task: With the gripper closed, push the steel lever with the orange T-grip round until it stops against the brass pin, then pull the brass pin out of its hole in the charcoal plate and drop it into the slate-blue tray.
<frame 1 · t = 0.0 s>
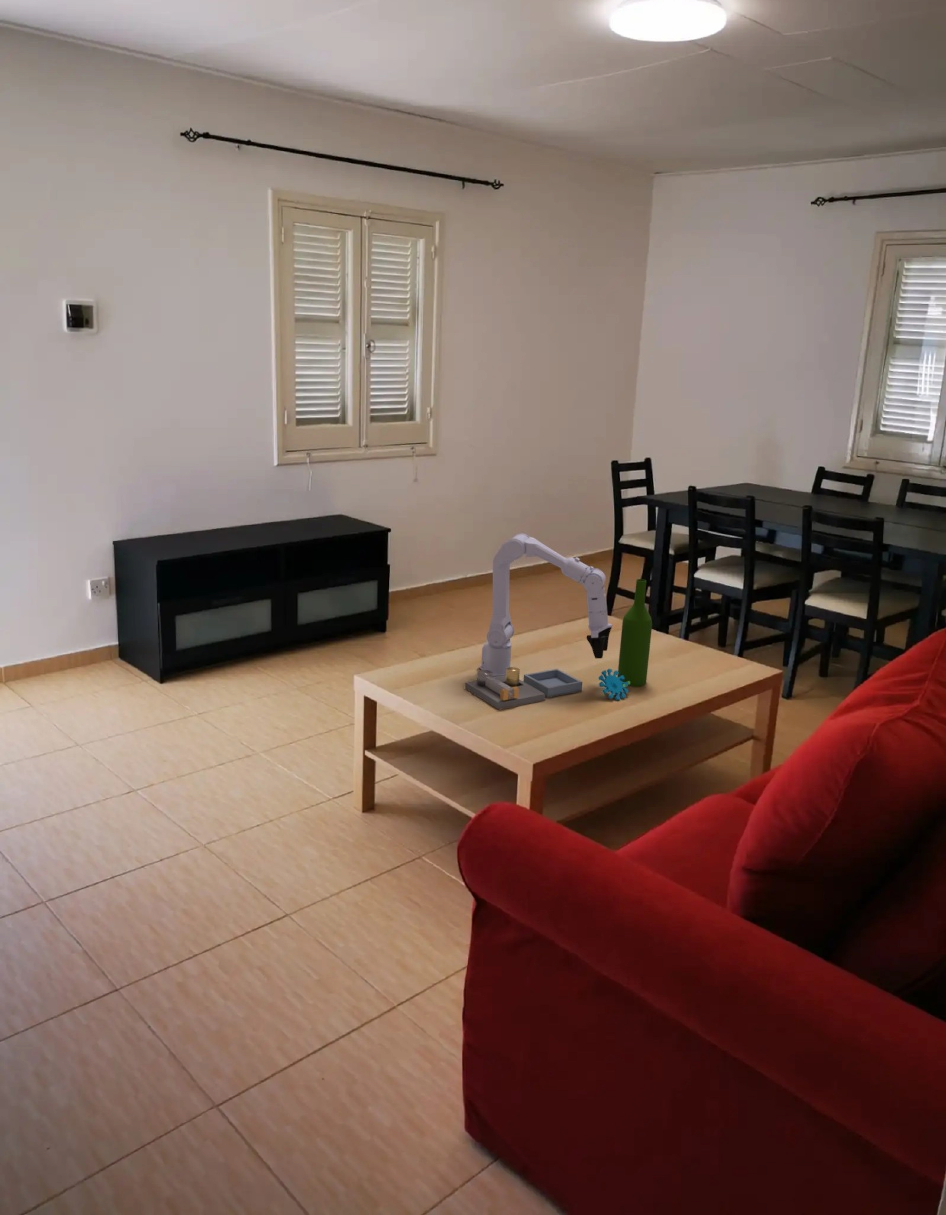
hand: (601, 654, 283), 11 cm above the table, tool pointing down, fingers open, 7 cm apart
blue spiky round piece: (613, 696, 280), on the table
crank plate: (504, 694, 277), on the table
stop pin: (511, 690, 281), resting in crank plate
lever: (495, 684, 273), point 4 cm above the table, hinge at 0.0°
wine bottle: (631, 682, 292), on the table
tray: (552, 687, 284), on the table
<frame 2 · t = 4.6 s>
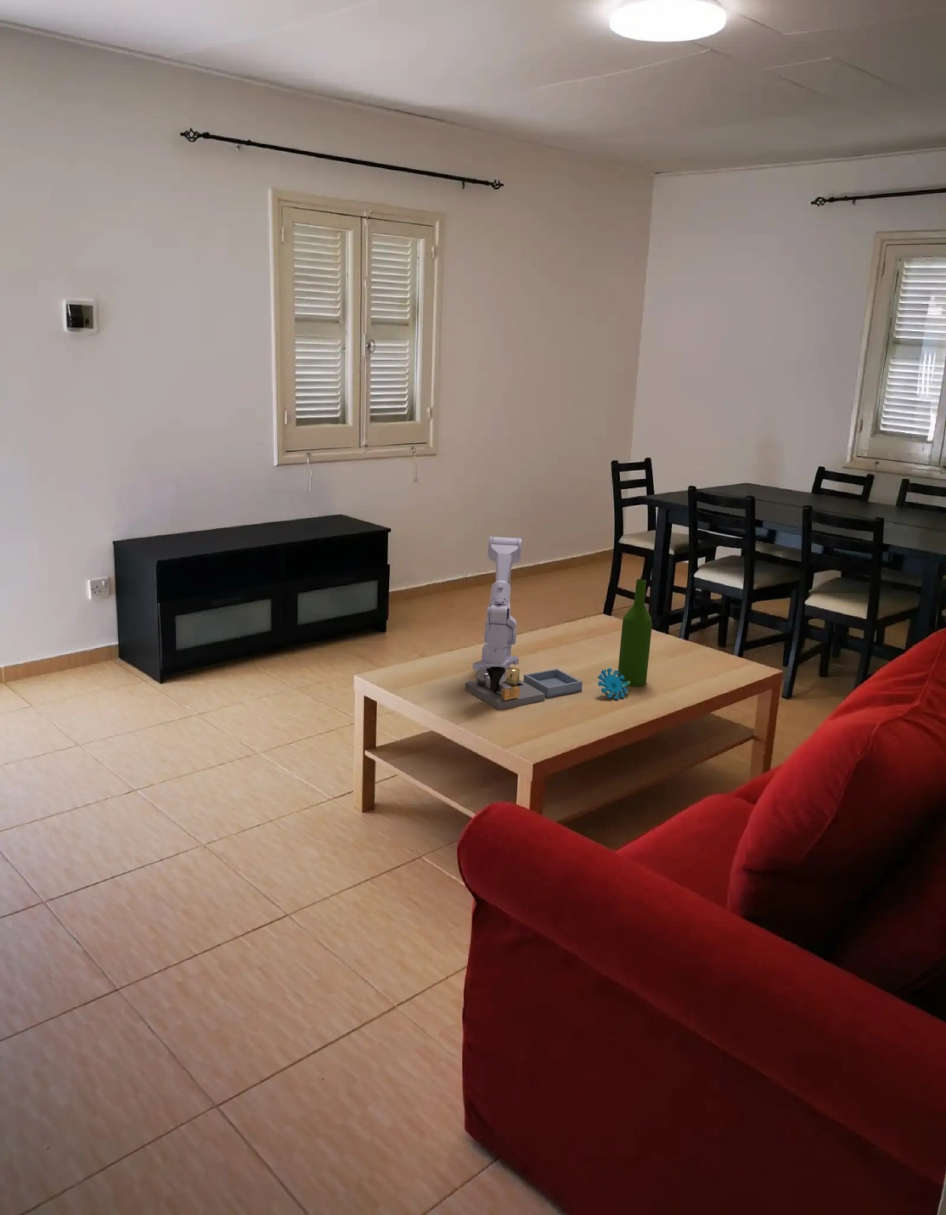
hand: (494, 690, 271), 3 cm above the table, tool pointing down, fingers closed, pressing on lever
lever: (496, 684, 273), point 4 cm above the table, hinge at 1.4°, touching gripper
everything else where it was.
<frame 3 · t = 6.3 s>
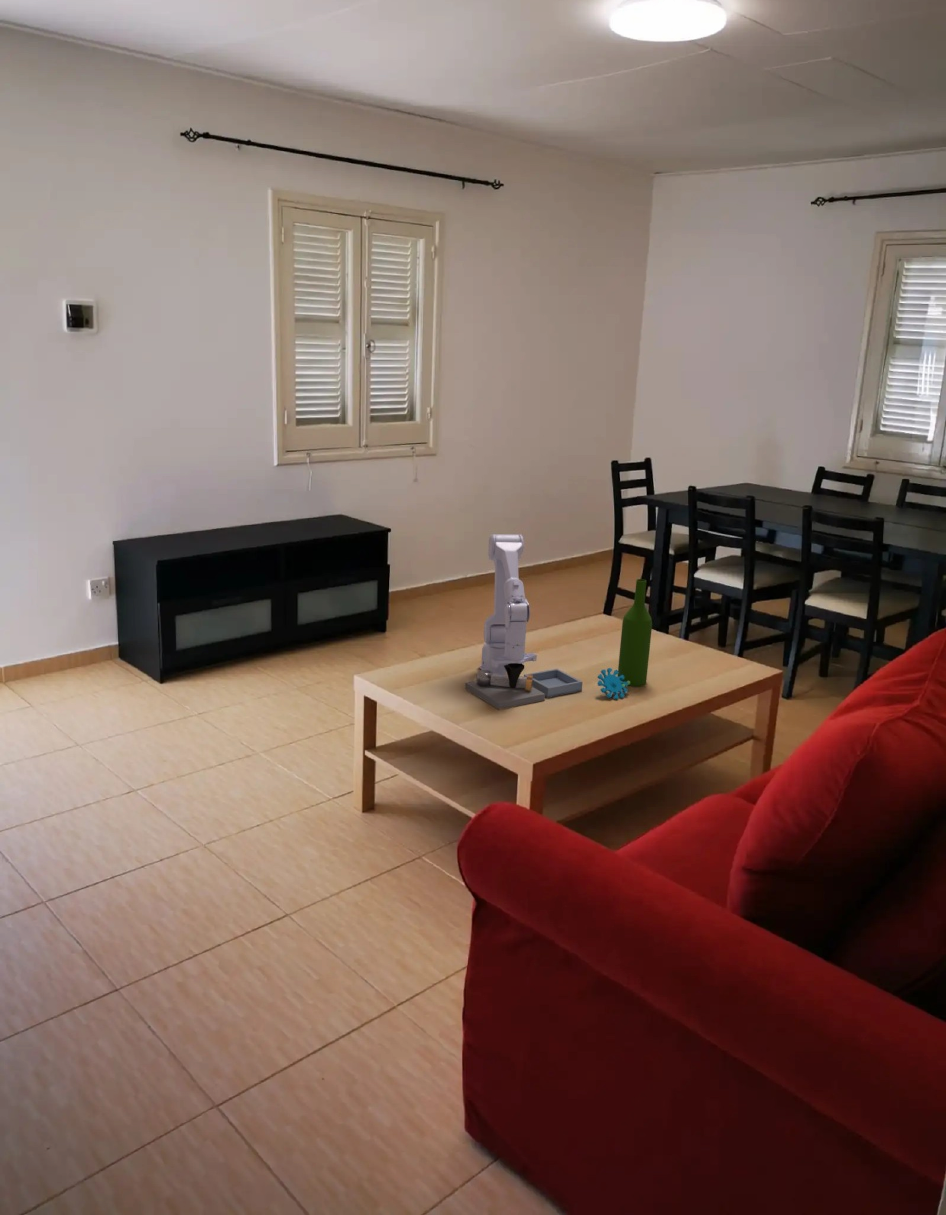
hand: (512, 687, 274), 3 cm above the table, tool pointing down, fingers closed
lever: (504, 679, 277), point 4 cm above the table, hinge at 49.6°, touching gripper
everything else where it was.
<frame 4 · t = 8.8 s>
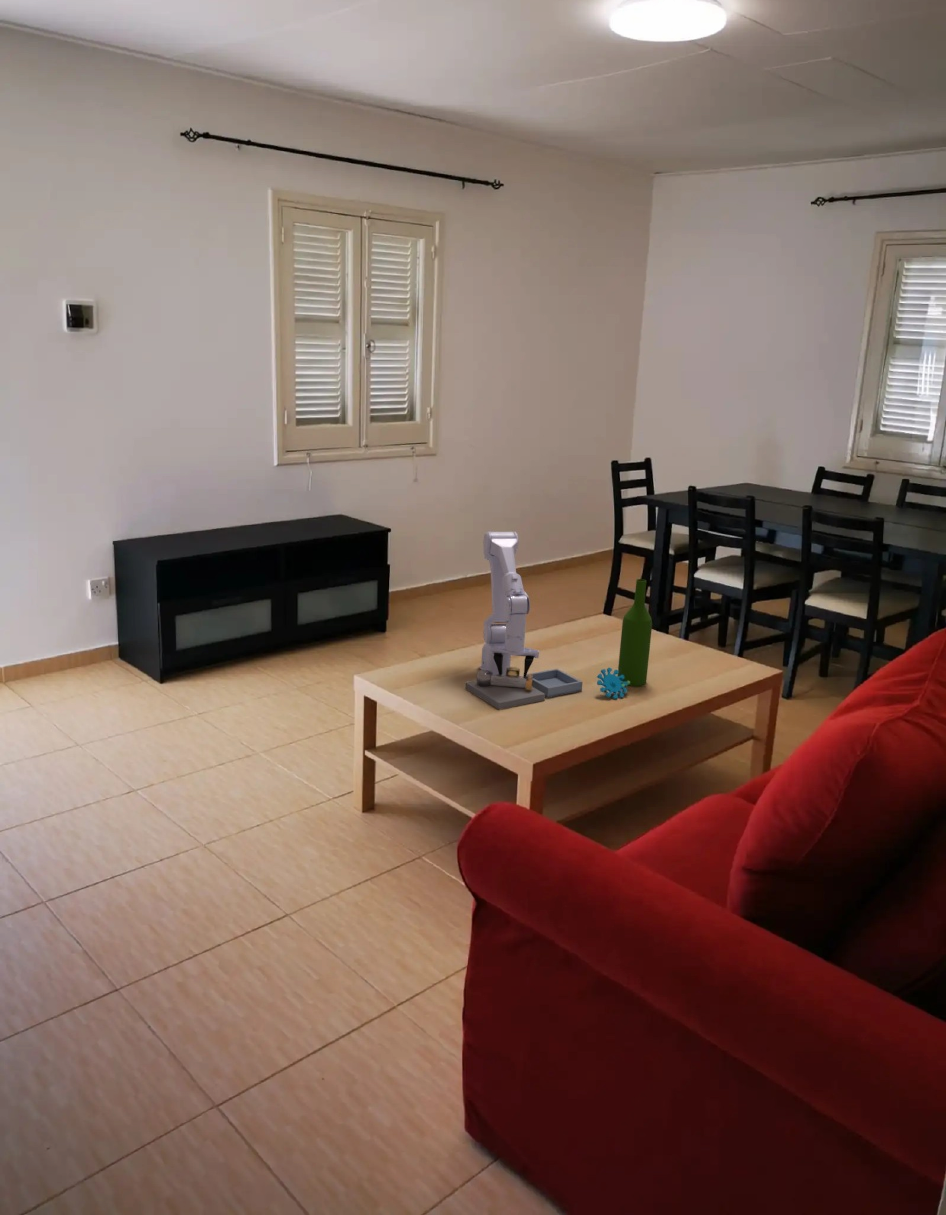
hand: (512, 678, 280), 4 cm above the table, tool pointing down, fingers open, 6 cm apart
lever: (504, 679, 277), point 4 cm above the table, hinge at 50.8°, touching gripper
everything else where it was.
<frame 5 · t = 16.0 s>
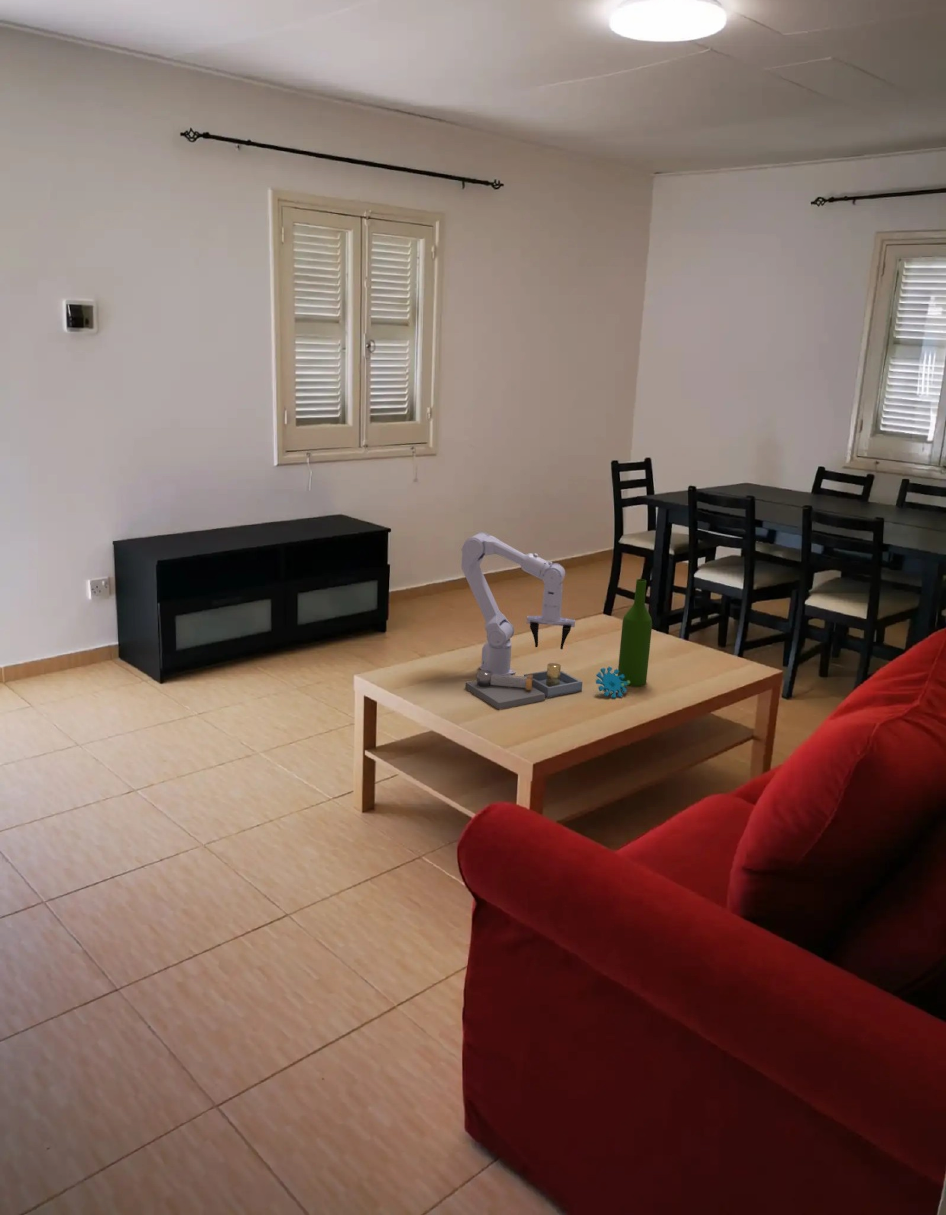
hand: (549, 647, 288), 10 cm above the table, tool pointing down, fingers open, 7 cm apart
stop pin: (552, 685, 284), point 1 cm above the table, touching tray
lever: (504, 679, 277), point 4 cm above the table, hinge at 50.8°
at the end: lever at +51° (first picture: +0°); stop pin inside the target area on the tray (0.1 cm from its centre), point 0.6 cm above the tray's base; the gripper is holding nothing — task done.
